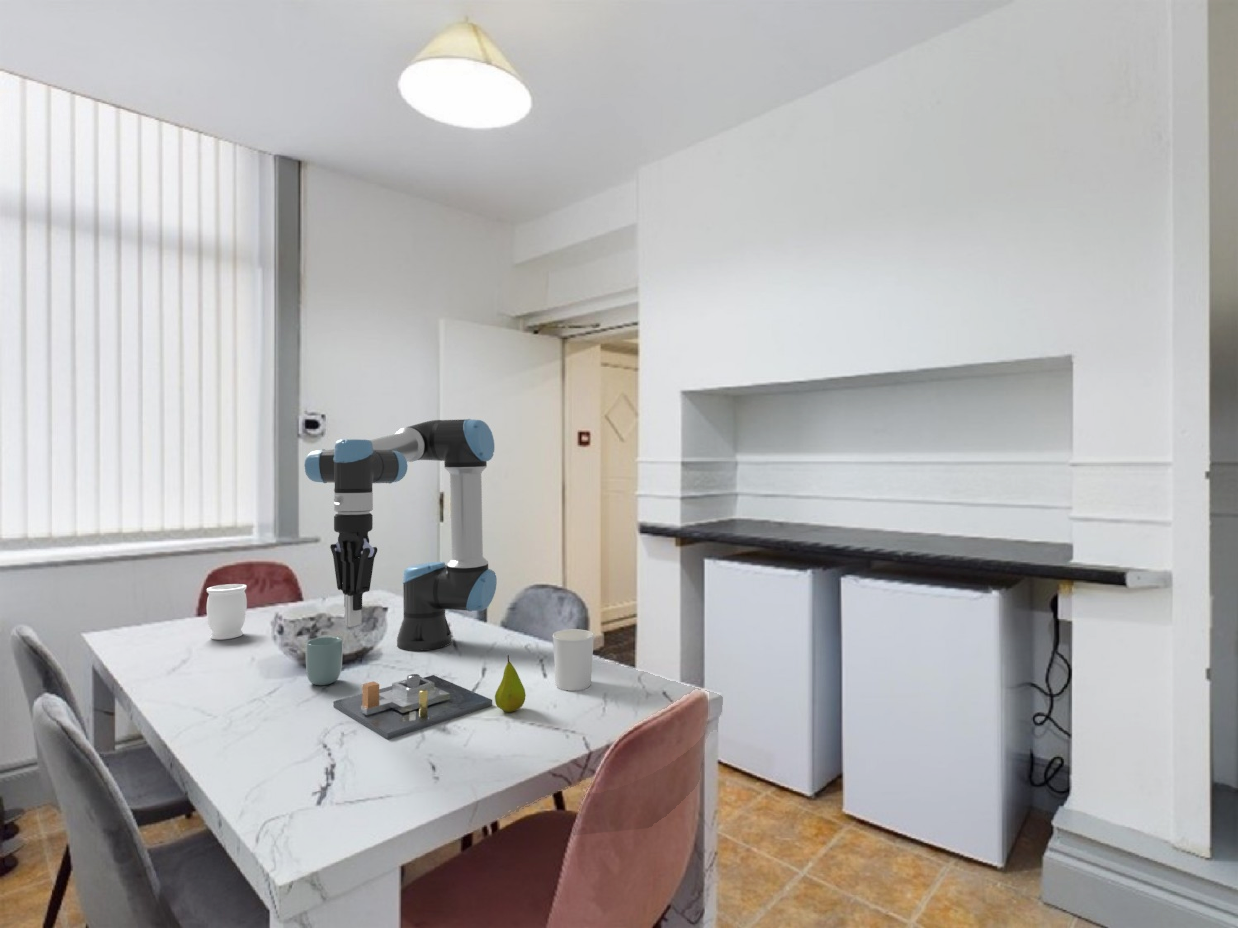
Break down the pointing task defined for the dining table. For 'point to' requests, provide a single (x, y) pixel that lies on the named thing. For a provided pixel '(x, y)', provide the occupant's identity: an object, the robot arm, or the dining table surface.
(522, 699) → the fruit
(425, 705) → the dowel
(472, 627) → the dining table surface
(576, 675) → the white tumbler
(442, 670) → the dining table surface
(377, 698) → the grey metal fixture
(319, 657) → the cup
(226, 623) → the jar
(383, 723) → the base
